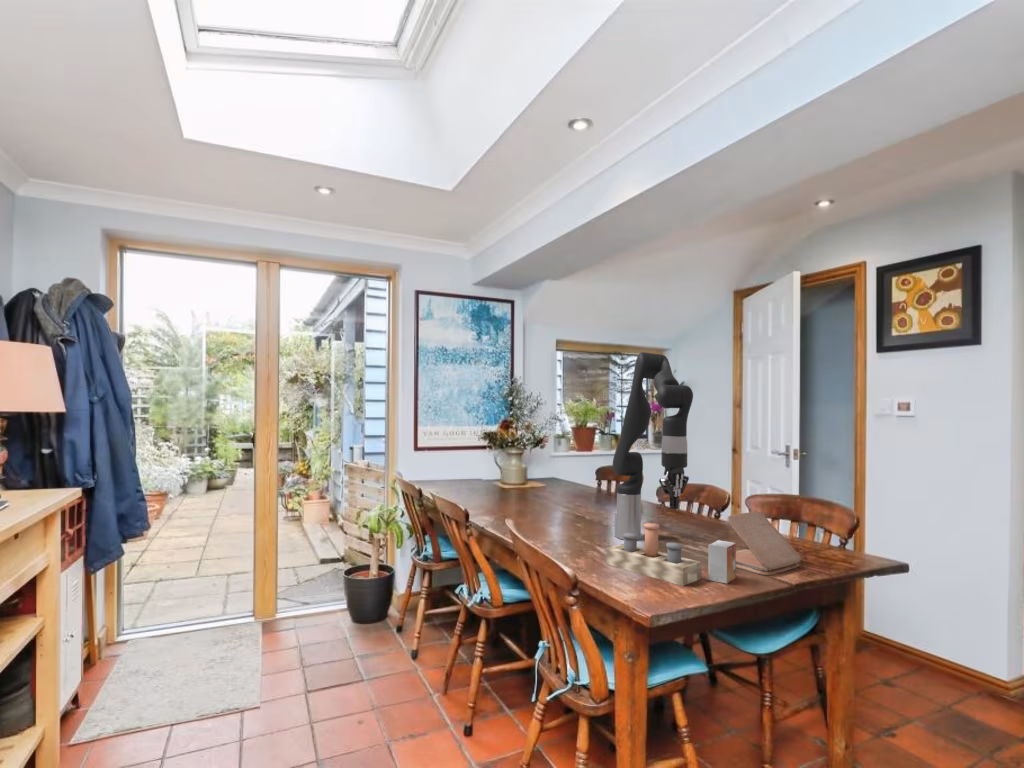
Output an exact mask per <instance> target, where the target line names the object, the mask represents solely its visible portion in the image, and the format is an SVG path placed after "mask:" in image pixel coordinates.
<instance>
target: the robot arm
mask: <svg viewBox="0 0 1024 768" xmlns="http://www.w3.org/2000/svg"><path fill="white" fill-rule="evenodd" d="M670 364H671V363H670V362H669V358H668V357H667V356H666V355H664V354H662V353H661V354H660V353H655V352H654V353H652V352H643V351H642V352H640V353H638V355H637V356H636V360H635V365H634V370H633V377H632V384H631V390H630V393H629V397H628V401H627V405H626V408H625V413H624V418H623V423H622V426H621V427H622V429H621V432H620V437H619V440H618V442H617V446H616V449H615V452H614V455H613V459H612V470H613V474H615V475H616V476H619V477H621V476H622V477H624V476H625V477H626V476H628V479H627V480H625V481H624V482H623V483H620V484H618V485H617V486H616V511H614V537H616V538H617V539H620V540H623V541H624V537H623V534H624V533H634V534H637V535H638V538H637V541H639V540H641V538H642V523H641V522H642V513H641V512H642V488H643V473H644V472H643V471H644V470H643V469H644V460H643V457H642V455H641V453H640V452H638V451H630V450H631V449H632V447H633V445H634V444H635V443H636V442H637V441H638V440H639V439H640V437H642V436H643V435H644V434H645V432H646V430H648V428H649V424H650V421H651V416H652V408H651V405H650V403H649V400H648V397H647V396H646V393H645V391H644V385H643V382H644V381H643V380H644V379H648V380H653V387H654V389H655V390H656V402H657V404H658V406H659V407H661V408H662V409H663V408H665V409H678V411H677V413H675V414H673V415H669V416H665V417H663V419H662V436H661V437H662V438H661V461H660V462H661V466H662V467H664V472H663V477H662V478H659V480H658V482H659V485H660V486H661V488H662V490H663V492H664V494H665V495H667V496H669V509H670V510H679V508H680V507H679V505H680V496H681V495H682V494H684V492H685V489H686V487H687V486H688V485H687V484H688V482H689V480H690V478H689V476H686V475H685V468H687V467H688V437H687V433H688V432H687V431H688V430H687V429H688V428H687V427H688V426H687V425H688V417H689V413H690V409H691V407H692V403H693V399H694V392H693V390H692V388H691V387H690V386H688V385H686V384H685V385H683V384H679V381H678V380H677V379H676V377H675V376H674V375H673V371H672V367H671V365H670Z"/></svg>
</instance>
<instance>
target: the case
mask: <svg viewBox="0 0 1024 768" xmlns="http://www.w3.org/2000/svg"><path fill="white" fill-rule="evenodd" d="M726 519H727V523H728V524H729V525H730V527H731V528H732V529H733V530H734V532H735V533H736V535H738V536H739V538H740V539H741V541H742V542H743V543H744V544H745V546H746V547H747V548H748V549H744V548H743V549H739V550H736V569H737V570H738V569H739V570H742V571H746V572H748V573H752V574H757V575H759V576H764V577H765V576H768V577H769V576H773V575H775V574H780V573H783V572H787V571H790V570H792V569H796V568H799V563H800V562H801V559H802V558H801V556H800V554H799V553H798V552H797V551H796V549H794V547H793V546H792V545H791V544H790V543H789V542H788V541H787V540H786V538H785V537H784V535H782V533H780V531H779V530H778V529H777V528H776V527H775V526H774V524H773V523H771V522H770V520H769V519H768V518H767V517H766V516H765V515H764V514H763V513H761V512H759V511H750V512H742V513H738V514H731V515H729V516H727V518H726Z"/></svg>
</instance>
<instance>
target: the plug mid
mask: <svg viewBox="0 0 1024 768" xmlns="http://www.w3.org/2000/svg"><path fill="white" fill-rule="evenodd" d="M643 527H644V548H645V556H648V557H652V558H655V557H658V552H659V528H660V524H658V523H653V522H652V523H650V522H646V523H643Z"/></svg>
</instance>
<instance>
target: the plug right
mask: <svg viewBox="0 0 1024 768" xmlns="http://www.w3.org/2000/svg"><path fill="white" fill-rule="evenodd" d="M665 547H666V550H667V552H666V554H667V562H671V563H675V564H678V563H681V557H682V548H683V544H682V543H679V542H666V545H665Z"/></svg>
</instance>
